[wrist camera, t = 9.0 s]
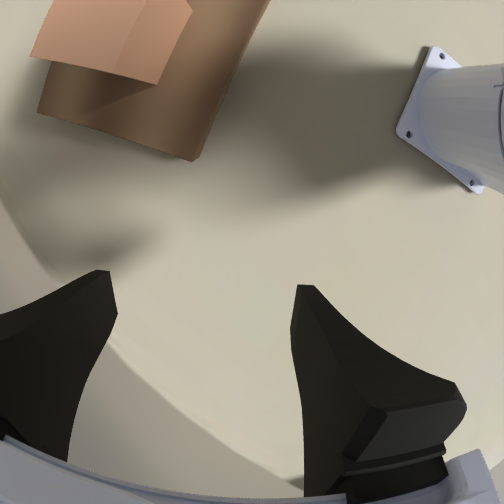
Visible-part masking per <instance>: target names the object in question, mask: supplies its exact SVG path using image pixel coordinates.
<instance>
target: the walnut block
mask: <svg viewBox="0 0 504 504" xmlns="http://www.w3.org/2000/svg"><path fill="white" fill-rule="evenodd" d="M186 1H187V3H188V4H189V6H190V7H191V9H192V11H193V12H192V13H191V15H190V17H189V19H188V21H187V23H186V25H185V27H184V29H183V30H182V32H181V34H180V36H179V38H178V40H177V42H176V44H175V47H174V49H173V51H172V53H171V55H170V57H169V59H168V61H167V64H166V66H165V68H164V70H163V72H162V75H161V77H160V79H159V82H158V84H157V85H155V84H151V83H148V82H144V81H141V80H137V79H133V78H129V77H125V76H121V75H117V74H113V73H109V72H105V71H101V70H96V69H92V68H88V67H83V66H78V65H73V64H68V63H63V62H58V61H52V63H51V66H50V69H49V72H48V75H47V78H46V82H45V85H44V88H43V92H42V95H41V99H40V103H39V107H38V111H37V113H40V114H44V115H47V116H51V117H55V118H58V119H62V120H65V121H69V122H72V123H76V124H79V125H83V126H86V127H89V128H93V129H96V130H99V131H102V132H105V133H109V134H112V135H115V136H118V137H121V138H124V139H127V140H130V141H133V142H136V143H139V144H142V145H145V146H148V147H151V148H154V149H157V150H160V151H162V152H165V153H168V154H171V155H174V156H177V157H179V158H182V159H185V160H187V161H190V162H193V161H194V160H195V159H197V158H198V157H199V156H200V154H201V151H202V149H203V146H204V144H205V141H206V138H207V136H208V133H209V131H210V129H211V126H212V124H213V121H214V119H215V116H216V114H217V112H218V109H219V107H220V104H221V102H222V100H223V97H224V95H225V93H226V91H227V88H228V86H229V84H230V82H231V79H232V77H233V75H234V73H235V71H236V68H237V66H238V64H239V62H240V60H241V58H242V56H243V53H244V51H245V49H246V47H247V45H248V43H249V41H250V39H251V37H252V35H253V33H254V31H255V29H256V27H257V25H258V23H259V21H260V19H261V17H262V15H263V13H264V12H265V10H266V8H267V6H268V4H269V2H270V0H186Z"/></svg>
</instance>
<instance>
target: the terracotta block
mask: <svg viewBox="0 0 504 504" xmlns="http://www.w3.org/2000/svg"><path fill="white" fill-rule="evenodd" d="M192 12H193V11H192V9H191V7H190V6H189V4H188V3H187V1H186V0H54V1H53V3H52V5H51V7H50V9H49V11H48V14H47V16H46V18H45V20H44V22H43V24H42V27H41V29H40V31H39V34H38V36H37V39H36V41H35V44H34V46H33V49H32V52H31V54H30V57H33V58H40V59H46V60H52V61H58V62H63V63H68V64H73V65H78V66H83V67H88V68H92V69H96V70H101V71H105V72H109V73H113V74H117V75H121V76H125V77H129V78H133V79H137V80H141V81H144V82H148V83H151V84H155V85H157V84H158V82H159V79H160V77H161V75H162V72H163V70H164V68H165V66H166V64H167V61H168V59H169V57H170V55H171V53H172V51H173V49H174V47H175V44H176V42H177V40H178V38H179V36H180V34H181V32H182V30H183V29H184V27H185V25H186V23H187V21H188V19H189V17H190V15H191V13H192Z"/></svg>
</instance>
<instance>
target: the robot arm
mask: <svg viewBox="0 0 504 504" xmlns="http://www.w3.org/2000/svg"><path fill="white" fill-rule="evenodd" d="M439 54H441V55H442V59H441V58H440V56H439ZM408 131H409V132H410V137H409V138H408V137H407V135H406V134H407V132H408ZM396 134H397V135H398V136H399V137H400V138H402V139H403V140H405V141H406V142H408V143H409V144H411V145H412V146H414V147H415V148H417V149H418V150H419V151H421V152H422V153H424V154H425V155H427V156H428V157H429V158H431V159H432V160H433V161H435V162H436V163H437V164H439V165H440V166H441V167H443V168H444V169H445V170H447V171H448V172H449V173H451V174H452V175H453V176H454V177H456V178H457V179H458V180H459V181H461V182H462V183H463V184H464V185H465V186H467V187H468V188H469V189H470V190H471V191H473V192H474V193H476V194H481V192H482V191H483V188H484V186H487V187H489V188H492V189H494V190H496V191H498V192H500V193H502V194H504V64H492V65H479V66H469V67H462V66H460V65H459V64H458V63H457V62H456V61H455V60H454V59H452V58H451V57H450V56H449V55H448V54H446V53H445V52H444V51H443V50H441V49H440V48H439V47H437V46H432V47H430V48H429V51H428V53H427V56H426V59H425V61H424V64H423V66H422V69H421V71H420V73H419V76H418V78H417V81H416V83H415V86H414V88H413V90H412V93H411V95H410V97H409V100H408V102H407V104H406V106H405V109H404V111H403V113H402V115H401V118H400V120H399V122H398V124H397V126H396ZM471 180H472V182H471V184H470V181H471ZM117 314H118V312H117V307H116V303H115V298H114V292H113V287H112V282H111V276H110V271H104V270H95V271H92V272H90V273H88V274H86V275H84V276H82V277H80V278H78V279H76V280H74V281H72V282H70V283H69V284H67V285H65V286H63V287H61V288H59V289H58V290H56V291H54V292H52V293H50V294H48V295H46V296H44V297H42V298H40V299H38V300H36V301H34V302H32V303H30V304H27V305H25V306H23V307H20V308H18V309H15V310H13V311H10V312H7V313H4V314H0V504H501V501H500V499H499V496H498V493H497V490H496V487H495V485H494V482H493V479H492V477H491V474H490V472H489V469H488V467H487V464H486V462H485V460H484V457H483V455H482V453H481V450H480V449H476V450H474V451H471V452H468V453H466V454H463V455H460V456H458V457H455V458H453V459H451V460H449V461H448V462H446V463H444V460H443V457H442V455H444V454H445V453H446V448H445V446H444V443H443V442H444V441H445V440H446V439H447V438H448V437H449V436H450V434H451V433H452V432H453V431H454V430H455V429H456V428H457V426H458V425H459V424H460V422H461V421H462V420H463V418H464V415H465V413H466V410H467V406H466V403H465V401H464V399H463V397H462V395H461V393H460V392H459V390H458V388H457V386H456V384H455V383H454V382H451V381H449V380H446V379H443V378H440V377H438V376H435V375H432V374H429V373H427V372H425V371H423V370H420V369H418V368H416V367H414V366H412V365H410V364H408V363H406V362H404V361H402V360H401V359H399V358H397V357H396V356H394V355H392V354H391V353H389V352H387V351H386V350H384V349H383V348H381V347H380V346H378V345H377V344H376V343H374V342H373V341H371V340H370V339H369V338H367V337H366V336H365V335H364V334H362V333H361V332H360V331H359V330H358V329H356V328H355V327H354V326H353V325H352V324H351V323H350V322H349V321H348V320H347V319H345V318H344V317H343V316H342V315H341V314H340V313H339V312H338V311H337V310H336V309H335V308H334V306H333V305H332V304H331V303H330V302H329V301H328V300H327V299H326V298H325V297H324V296H323V295H322V294H321V292H320V291H319V290H318V289H317V288H316V287H315V286H314V285H298V284H297V290H296V296H295V302H294V308H293V314H292V320H291V326H290V335H291V351H292V356H293V362H294V367H295V372H296V377H297V382H298V387H299V393H300V398H301V405H302V418H303V436H304V497H303V498H280V499H251V498H250V499H249V498H230V497H229V498H228V497H216V496H206V495H197V494H190V493H182V492H176V491H170V490H164V489H159V488H154V487H149V486H144V485H140V484H136V483H131V482H127V481H123V480H120V479H116V478H112V477H109V476H105V475H102V474H99V473H96V472H93V471H90V470H87V469H84V468H81V467H78V466H75V465H72V464H70V463H67V457H68V450H69V443H70V437H71V432H72V427H73V423H74V419H75V415H76V411H77V407H78V404H79V401H80V398H81V395H82V392H83V389H84V386H85V383H86V381H87V378H88V376H89V374H90V372H91V370H92V368H93V366H94V364H95V362H96V360H97V358H98V357H99V355H100V353H101V351H102V349H103V347H104V345H105V343H106V341H107V340H108V338H109V336H110V334H111V331H112V328H113V326H114V323H115V320H116V317H117Z"/></svg>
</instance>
